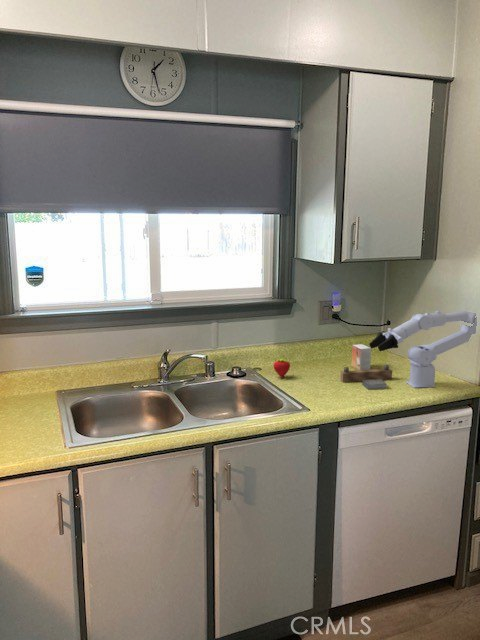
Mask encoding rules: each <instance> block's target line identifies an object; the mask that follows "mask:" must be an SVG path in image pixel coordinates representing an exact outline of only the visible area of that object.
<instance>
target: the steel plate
mask: <svg viewBox="0 0 480 640" xmlns="http://www.w3.org/2000/svg"><path fill="white" fill-rule="evenodd" d="M361 383H362V386H363V387H364V388H365V389H366V390H384V389H387V382H385V380H381V379H374V380H362V381H361Z"/></svg>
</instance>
